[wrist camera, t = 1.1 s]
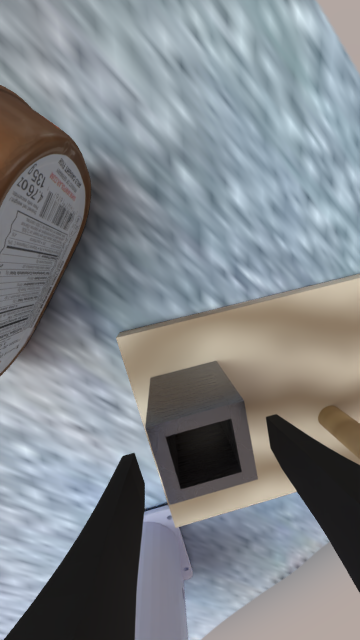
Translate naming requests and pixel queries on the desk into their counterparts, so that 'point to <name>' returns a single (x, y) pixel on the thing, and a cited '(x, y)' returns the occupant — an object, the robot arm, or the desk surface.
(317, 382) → the board
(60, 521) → the desk surface
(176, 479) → the grey hollow cube
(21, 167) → the tin
